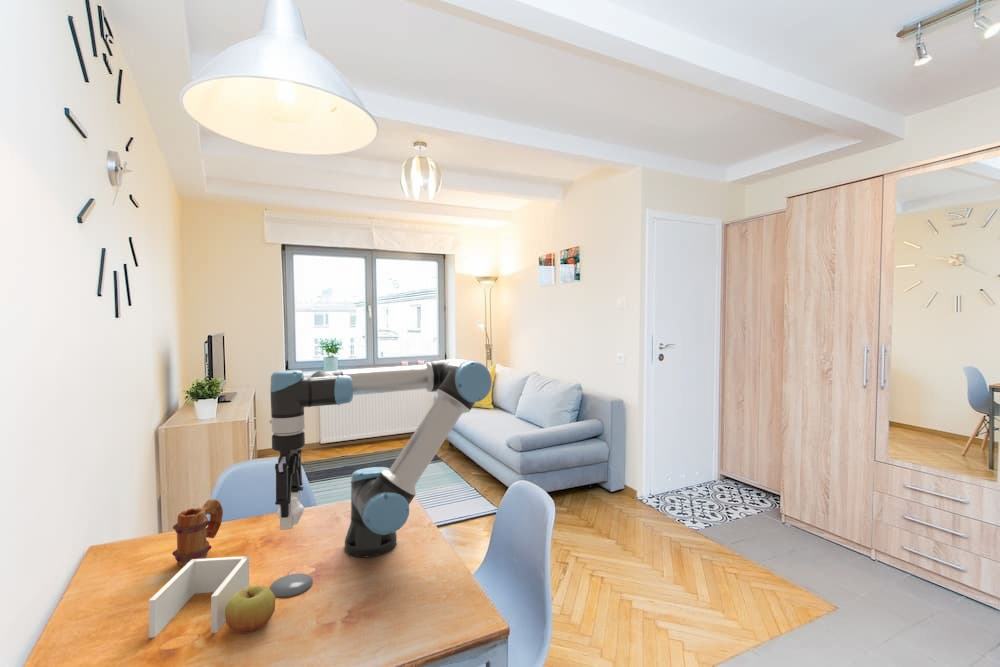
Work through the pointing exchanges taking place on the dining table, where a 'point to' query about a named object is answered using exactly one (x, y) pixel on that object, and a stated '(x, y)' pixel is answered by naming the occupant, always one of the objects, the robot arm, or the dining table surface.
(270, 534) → the dining table surface
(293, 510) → the white rounded ribbed piece
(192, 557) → the mug
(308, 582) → the coaster
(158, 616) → the cubby
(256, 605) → the apple
